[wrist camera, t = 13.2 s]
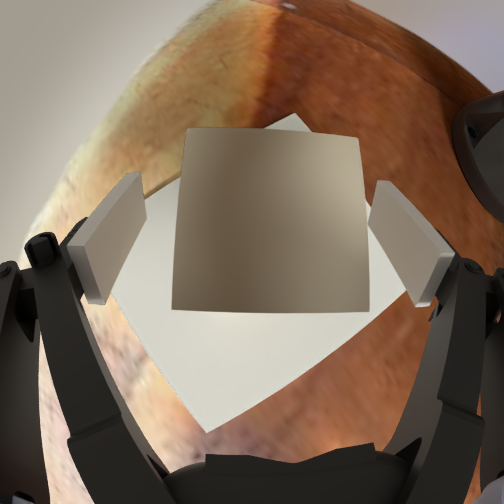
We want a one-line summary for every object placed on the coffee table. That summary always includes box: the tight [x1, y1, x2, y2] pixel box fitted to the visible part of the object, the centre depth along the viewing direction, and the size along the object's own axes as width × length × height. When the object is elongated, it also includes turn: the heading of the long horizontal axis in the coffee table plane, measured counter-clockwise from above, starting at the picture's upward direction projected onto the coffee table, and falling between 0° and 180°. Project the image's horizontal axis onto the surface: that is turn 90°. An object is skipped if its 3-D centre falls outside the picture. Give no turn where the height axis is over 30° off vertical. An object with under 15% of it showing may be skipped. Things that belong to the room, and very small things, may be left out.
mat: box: [111, 113, 406, 433], centre depth 21 cm, size 20×17×1 cm
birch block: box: [171, 127, 370, 313], centre depth 15 cm, size 6×6×12 cm
